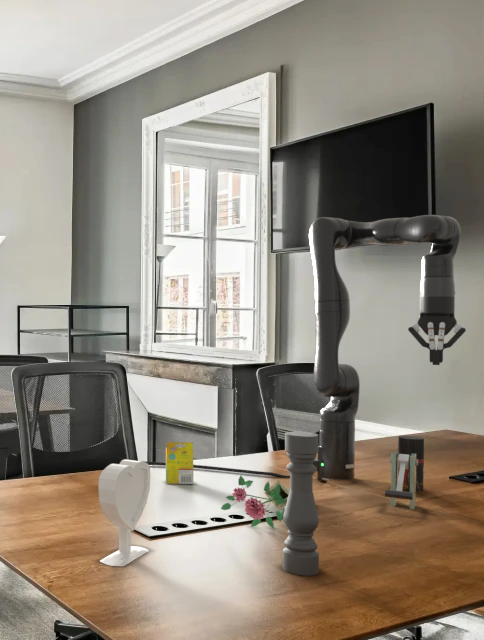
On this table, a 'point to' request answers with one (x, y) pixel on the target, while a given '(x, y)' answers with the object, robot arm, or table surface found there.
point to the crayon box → (179, 463)
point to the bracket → (413, 464)
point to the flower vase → (255, 510)
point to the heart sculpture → (124, 504)
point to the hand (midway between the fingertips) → (436, 364)
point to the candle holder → (301, 505)
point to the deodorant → (409, 447)
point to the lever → (400, 480)
